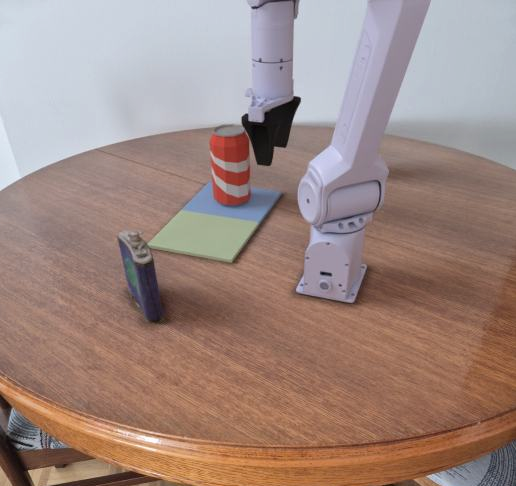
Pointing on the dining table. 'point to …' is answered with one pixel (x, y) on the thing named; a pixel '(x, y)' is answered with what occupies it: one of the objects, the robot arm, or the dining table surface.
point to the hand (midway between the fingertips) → (272, 155)
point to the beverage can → (230, 164)
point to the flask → (141, 274)
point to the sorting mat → (214, 225)
